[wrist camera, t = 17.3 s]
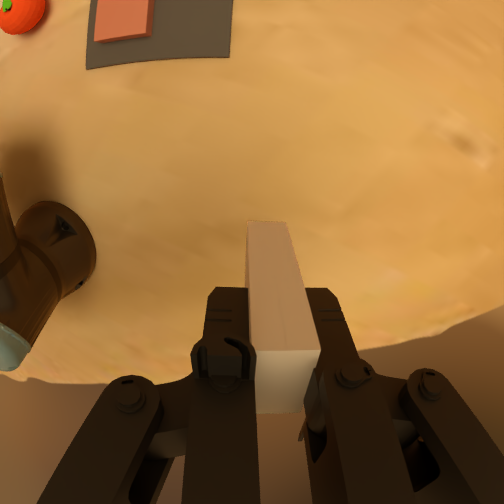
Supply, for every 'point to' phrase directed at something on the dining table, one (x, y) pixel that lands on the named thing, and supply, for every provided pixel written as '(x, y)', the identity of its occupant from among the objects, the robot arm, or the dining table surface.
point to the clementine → (20, 15)
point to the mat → (168, 34)
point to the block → (123, 20)
